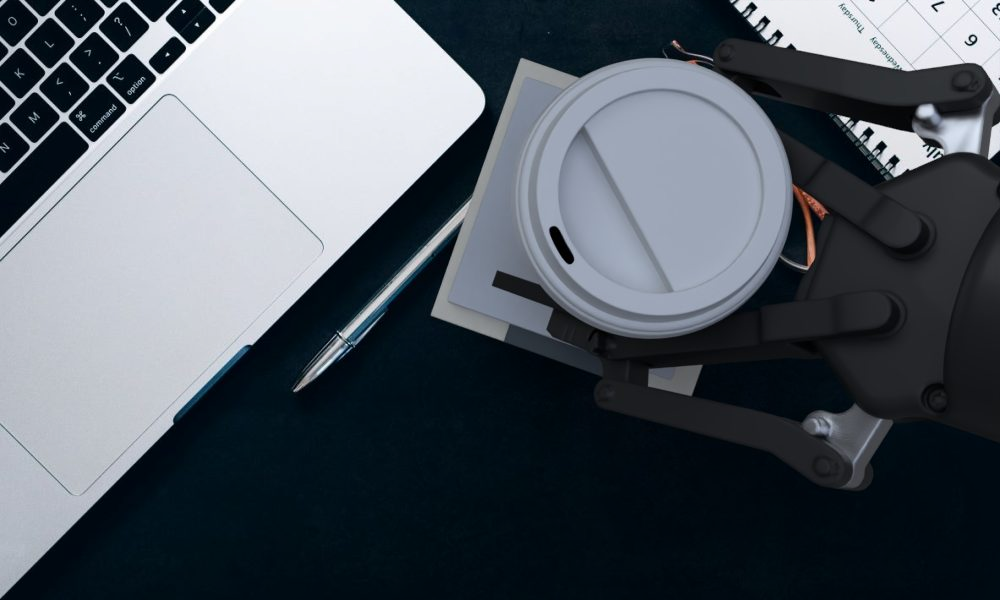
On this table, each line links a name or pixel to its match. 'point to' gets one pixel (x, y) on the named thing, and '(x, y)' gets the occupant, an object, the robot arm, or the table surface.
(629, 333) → the coffee cup
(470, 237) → the scale
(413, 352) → the table surface
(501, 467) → the table surface
